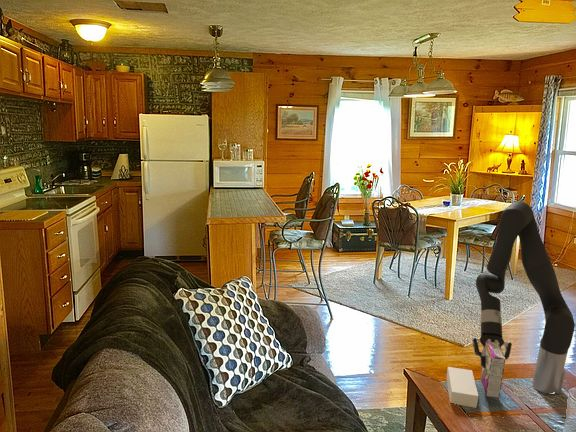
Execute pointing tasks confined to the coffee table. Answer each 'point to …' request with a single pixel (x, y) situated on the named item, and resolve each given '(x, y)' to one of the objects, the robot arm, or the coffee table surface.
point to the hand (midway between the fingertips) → (492, 368)
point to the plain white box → (462, 387)
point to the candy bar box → (493, 369)
